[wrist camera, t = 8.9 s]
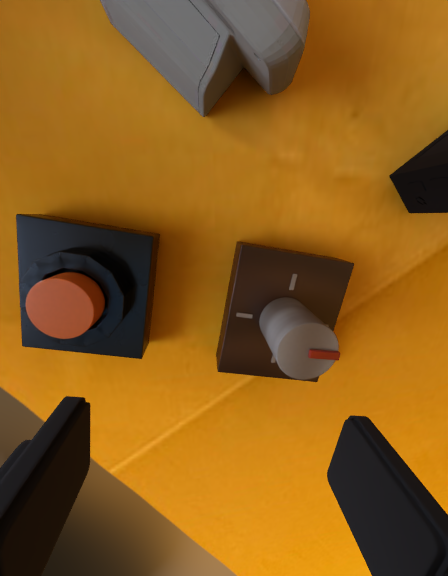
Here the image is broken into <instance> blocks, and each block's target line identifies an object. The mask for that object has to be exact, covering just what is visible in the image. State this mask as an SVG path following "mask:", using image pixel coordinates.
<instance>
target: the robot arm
mask: <svg viewBox="0 0 448 576" xmlns="http://www.w3.org/2000/svg"><path fill="white" fill-rule="evenodd" d="M89 465H90V403H87V402H86V401H85V398H83V397H68V396H67V397H65V398H64V399H63V400H62V401H61V402H60V404H59V405H58V406H57V408H56V409H55V410H54V411H53V413H52V414H51V415H50V417H49V418H48V419H47V421H46V422H45V423H44V425H43V426H42V427H41V428H40V430H39V431H38V433H37V434H36V435H35V436H34V438H33V439H32V440H25V441H24V442H22V443H21V444H20V445H19V446H18V447H17V448H16V449H15V450H14V452H13V453H12V454H11V455H10V457H9V458H8V459H7V461H6V462H5V463H4V464H3V465H2V467H1V468H0V576H41V575H42V573H43V571H44V568H45V566H46V564H47V562H48V560H49V557H50V555H51V553H52V551H53V548H54V546H55V544H56V542H57V540H58V537H59V535H60V533H61V531H62V529H63V526H64V524H65V522H66V519H67V517H68V515H69V513H70V511H71V509H72V506H73V504H74V502H75V500H76V498H77V495H78V493H79V491H80V489H81V487H82V484H83V482H84V480H85V478H86V475H87V473H88V470H89ZM327 477H328V482H329V484H330V487H331V489H332V491H333V493H334V495H335V497H336V499H337V502H338V504H339V506H340V508H341V510H342V512H343V514H344V516H345V519H346V521H347V523H348V525H349V527H350V529H351V531H352V534H353V536H354V538H355V540H356V542H357V544H358V546H359V549H360V551H361V553H362V555H363V557H364V559H365V561H366V564H367V566H368V568H369V570H370V572H371V574H372V576H448V515H447V514H446V512H445V511H444V510H443V509H442V507H441V506H440V505H439V504H438V502H437V501H436V500H435V499H434V498H433V496H432V495H431V494H430V493H429V491H428V490H427V489H426V488H425V486H424V485H423V484H422V483H421V482H420V480H419V479H418V478H417V477H416V475H415V474H414V473H413V472H412V471H411V469H410V468H409V467H408V466H407V464H406V463H405V462H404V461H403V459H402V458H401V457H400V456H399V455H398V453H397V452H396V451H395V450H394V448H393V447H392V446H391V445H390V444H389V442H388V441H387V440H386V439H385V437H384V436H383V435H382V434H381V432H380V431H379V430H378V429H377V428H376V426H375V425H374V424H373V423H372V421H371V420H370V419H369V418H368V417H366V416H350V417H349V418H348V419H347V420H345V422H344V425H343V428H342V431H341V433H340V436H339V439H338V442H337V445H336V448H335V451H334V454H333V457H332V460H331V463H330V466H329V468H328V472H327Z"/></svg>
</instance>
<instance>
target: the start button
mask: <svg viewBox="0 0 448 576" xmlns="http://www.w3.org/2000/svg"><path fill="white" fill-rule="evenodd" d="M104 308H105V297H104V294H103V292H102V290H101V288H100V287H99V285H98V284H97V283H96V282H95V281H94V280H93V279H91V278H90V277H88V276H86V275H84V274H81V273H77V272H64V273H60V274H57V275H55V276H52V277H50V278H47V279H45V280H42V281H40V282H38V283H37V284H35V285H34V286H33V287H32V288H31V290H30V291H29V293H28V295H27V298H26V311H27V314H28V317H29V318H30V320H31V322H32V323H33V324H34V325H35V326H36V328H38V329H39V330H40V331H42V332H43V333H45V334H47V335H49V336H51V337H55V338H60V339H69V338H74V337H78V336H80V335H82V334H83V333H85V332H86V331H87V330H88V329H89V328H90V327H91V326H92V325H93V324H94V323H95V322H96V321H97V320H98V319H99V318H100V317H101V316H102V314H103V312H104Z"/></svg>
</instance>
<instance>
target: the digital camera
mask: <svg viewBox="0 0 448 576" xmlns="http://www.w3.org/2000/svg"><path fill="white" fill-rule="evenodd" d="M390 178H391V180H392V182H393V183H394V185H395V187H396V189H397V191H398V193H399V195H400V197H401V199H402V201H403V202H404V204H405V206H406V208H407V210H408V212H409V213H448V130H447V131H446V132H445V133H443V134H442V135H441V136H439V137H438V138H437V139H436V140H434V141H433V142H432V143H431V144H429V145H428V146H427V147H425V148H424V149H423V150H422V151H420V152H419V153H418V154H417V155H415V156H414V157H413V158H411V159H410V160H409V161H408V162H406V163H405V164H404V165H403V166H401V167H400V168H399V169H397V170H396V171H395V172H394V173H392V174H391V175H390Z"/></svg>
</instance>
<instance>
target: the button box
mask: <svg viewBox="0 0 448 576" xmlns="http://www.w3.org/2000/svg"><path fill="white" fill-rule="evenodd" d="M16 221H17V242H18V264H19V291H20V307H21V328H22V346H25V347H34V348H44V349H53V350H63V351H72V352H81V353H91V354H100V355H110V356H119V357H129V358H138V359H142V357H143V355H144V353H145V350H146V348H147V346H148V343H149V336H150V326H151V316H152V306H153V297H154V287H155V277H156V267H157V257H158V247H159V237H160V234H157V233H151V232H145V231H139V230H133V229H127V228H121V227H115V226H109V225H102V224H96V223H90V222H84V221H78V220H72V219H66V218H60V217H54V216H48V215H42V214H16ZM64 272H77V273H81V274H84V275H86V276H88V277H90V278H91V279H93V280H94V281H95V282H96V283H97V284H98V285H99V287H100V288H101V290H102V292H103V294H104V297H105V308H104V312H103V314H102V316H101V317H100V318H99V319H98V320H97V321H96V322H95V323H94V324H93V325H92V326H91V327H90V328H89V329H88V330H87V331H86V332H85V333H83V334H82V335H80V336H78V337H74V338H69V339H60V338H55V337H51V336H49V335H47V334H45V333H43V332H42V331H40V330H39V329H38V328H36V326H35V325H34V324H33V323H32V322H31V320H30V318H29V317H28V314H27V311H26V298H27V295H28V293H29V291H30V290H31V288H32V287H33V286H34V285H35V284H37V283H38V282H40V281H42V280H45V279H47V278H50V277H52V276H55V275H57V274H60V273H64Z"/></svg>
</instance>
